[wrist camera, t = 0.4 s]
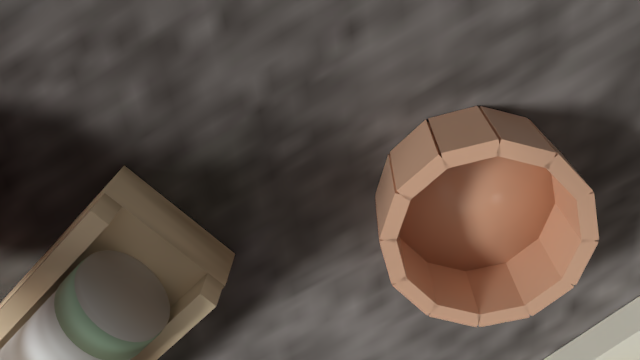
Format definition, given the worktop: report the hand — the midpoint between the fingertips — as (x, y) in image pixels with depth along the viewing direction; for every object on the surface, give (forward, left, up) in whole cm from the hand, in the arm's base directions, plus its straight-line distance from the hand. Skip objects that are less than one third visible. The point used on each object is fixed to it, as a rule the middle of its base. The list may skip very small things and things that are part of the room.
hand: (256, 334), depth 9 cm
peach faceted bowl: (+1, -8, -15) cm, 17 cm away
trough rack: (-13, 0, -15) cm, 20 cm away
